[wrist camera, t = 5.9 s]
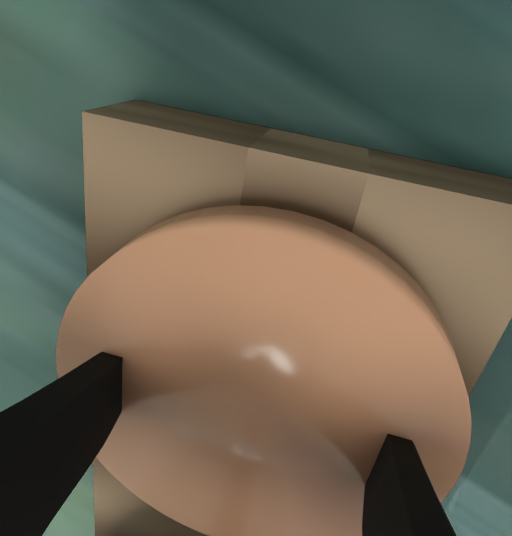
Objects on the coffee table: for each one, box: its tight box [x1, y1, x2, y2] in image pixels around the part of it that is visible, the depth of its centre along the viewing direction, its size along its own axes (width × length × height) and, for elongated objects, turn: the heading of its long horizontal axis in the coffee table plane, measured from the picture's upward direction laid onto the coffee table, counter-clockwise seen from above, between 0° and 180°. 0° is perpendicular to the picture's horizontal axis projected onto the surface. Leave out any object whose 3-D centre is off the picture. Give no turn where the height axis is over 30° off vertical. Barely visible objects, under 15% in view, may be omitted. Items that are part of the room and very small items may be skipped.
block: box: [82, 100, 512, 536], centre depth 18 cm, size 26×12×3 cm, turn 171°
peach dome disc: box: [56, 205, 472, 536], centre depth 13 cm, size 11×11×4 cm
